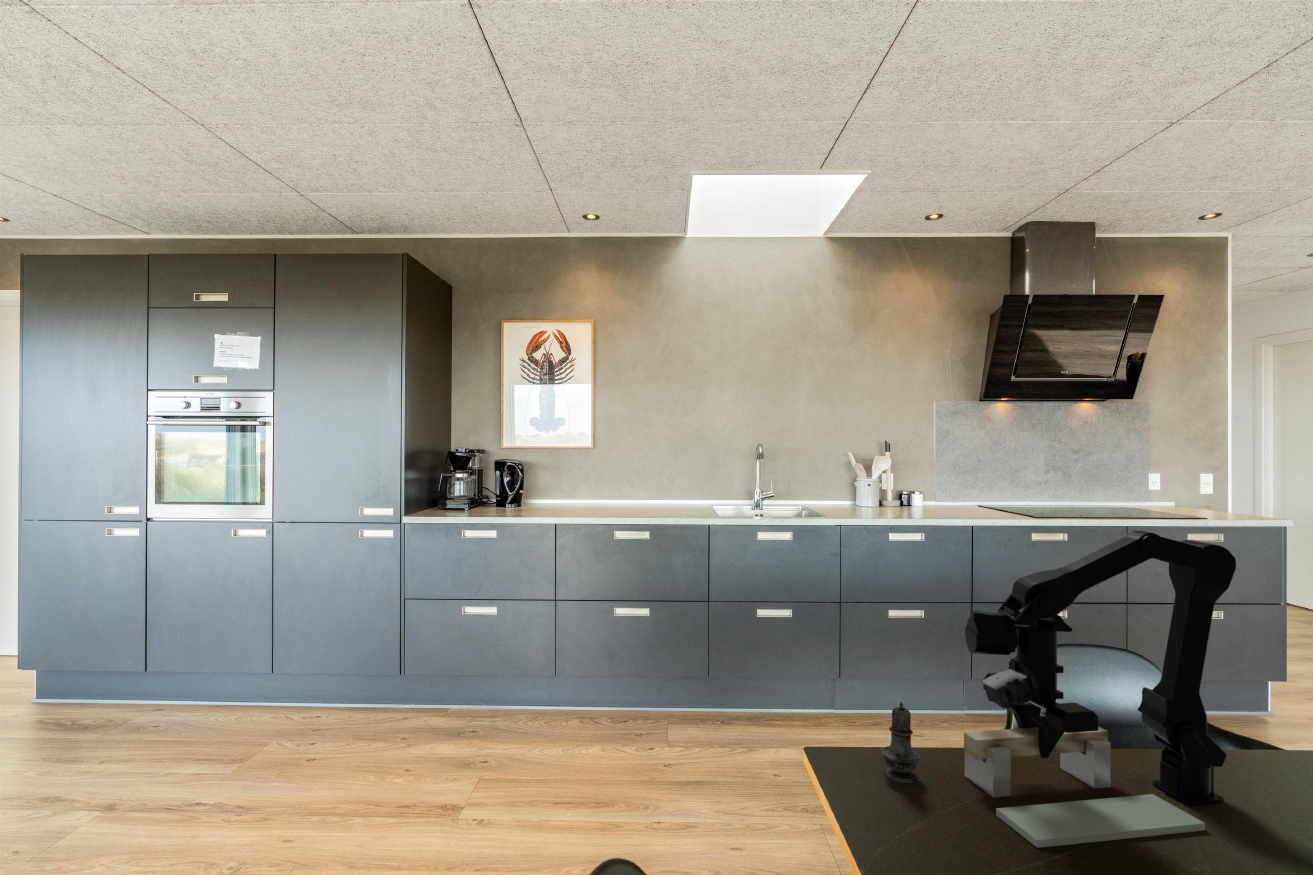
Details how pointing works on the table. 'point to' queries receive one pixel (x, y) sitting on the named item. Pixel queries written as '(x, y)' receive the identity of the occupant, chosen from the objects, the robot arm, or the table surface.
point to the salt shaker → (901, 748)
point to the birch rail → (1026, 741)
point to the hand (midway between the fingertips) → (1036, 753)
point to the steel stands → (1081, 765)
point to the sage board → (1098, 820)
